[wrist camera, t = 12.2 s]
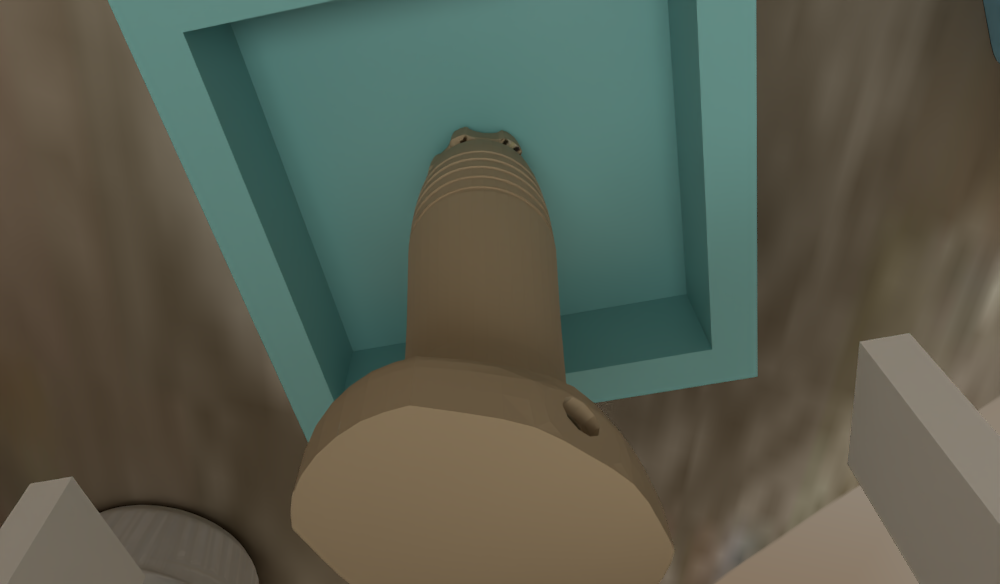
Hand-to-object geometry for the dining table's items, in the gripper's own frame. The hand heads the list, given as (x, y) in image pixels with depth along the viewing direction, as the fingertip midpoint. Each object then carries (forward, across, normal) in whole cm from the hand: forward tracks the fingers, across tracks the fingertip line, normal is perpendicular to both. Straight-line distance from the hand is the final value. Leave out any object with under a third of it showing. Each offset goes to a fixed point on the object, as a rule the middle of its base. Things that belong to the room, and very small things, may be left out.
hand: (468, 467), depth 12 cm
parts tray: (+15, 0, 0) cm, 15 cm away
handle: (+14, 0, 0) cm, 14 cm away
